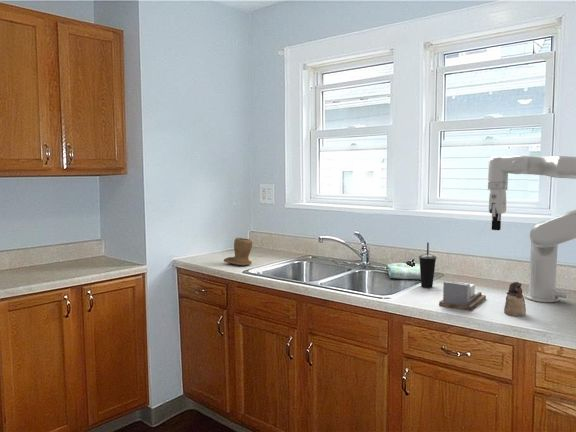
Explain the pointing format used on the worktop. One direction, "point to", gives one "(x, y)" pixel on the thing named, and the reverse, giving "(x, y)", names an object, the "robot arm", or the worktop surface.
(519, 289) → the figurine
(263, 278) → the worktop surface
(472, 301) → the base
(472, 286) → the gauge carriage
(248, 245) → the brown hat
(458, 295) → the grey rectangular block
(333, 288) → the worktop surface
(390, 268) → the towel
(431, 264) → the drinking cup
